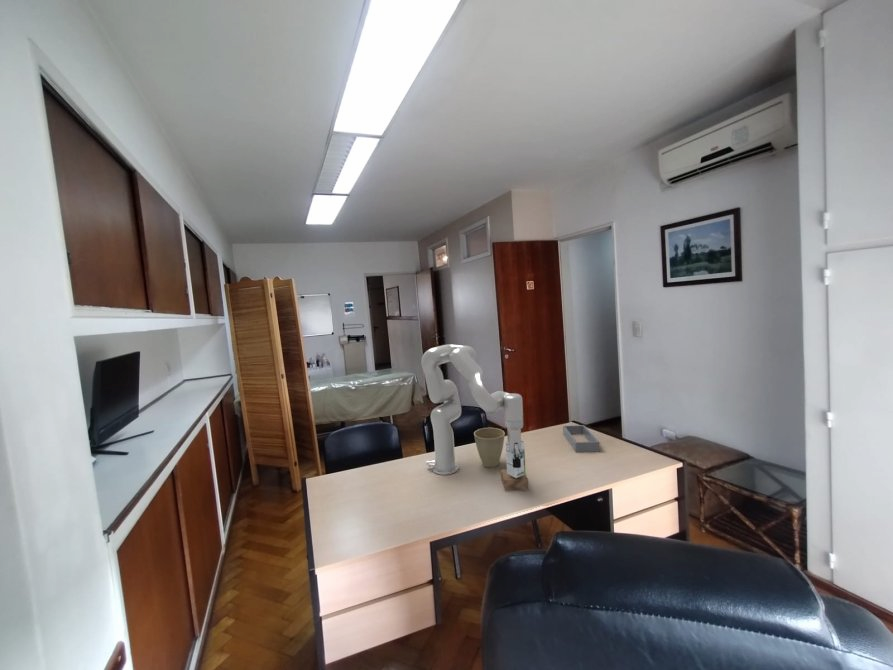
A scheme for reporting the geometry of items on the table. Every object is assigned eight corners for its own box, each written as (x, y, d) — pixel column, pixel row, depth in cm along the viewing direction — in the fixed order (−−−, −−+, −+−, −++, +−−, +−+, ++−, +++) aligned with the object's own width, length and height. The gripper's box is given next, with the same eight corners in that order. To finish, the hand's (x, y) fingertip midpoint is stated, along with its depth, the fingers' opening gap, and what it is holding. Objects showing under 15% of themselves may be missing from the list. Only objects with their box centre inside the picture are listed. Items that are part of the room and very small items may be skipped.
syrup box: (516, 478, 158) (515, 445, 157) (506, 473, 163) (505, 441, 161) (525, 474, 161) (524, 441, 160) (515, 469, 166) (514, 437, 165)
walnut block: (504, 491, 160) (504, 480, 159) (501, 480, 170) (500, 469, 169) (528, 490, 160) (527, 478, 159) (523, 479, 170) (523, 468, 169)
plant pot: (470, 468, 183) (469, 436, 182) (482, 456, 196) (480, 426, 195) (500, 473, 176) (498, 440, 175) (510, 460, 189) (508, 429, 188)
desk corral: (575, 452, 194) (575, 442, 194) (563, 434, 220) (562, 425, 219) (599, 451, 193) (599, 442, 193) (584, 433, 219) (584, 425, 219)
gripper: (503, 417, 169) (504, 454, 171) (507, 430, 152) (508, 472, 153) (520, 416, 168) (521, 454, 170) (526, 430, 151) (527, 472, 153)
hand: (515, 462), depth 162 cm, fingers closed on syrup box, 7 cm apart
